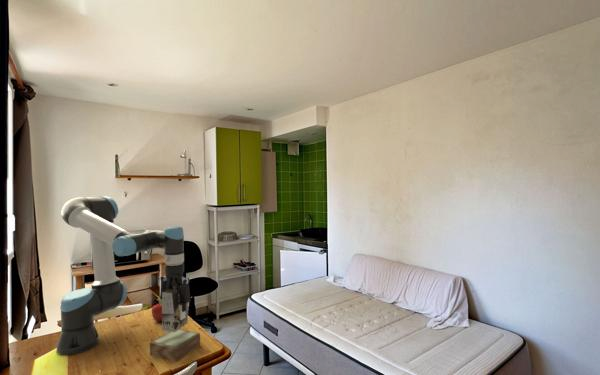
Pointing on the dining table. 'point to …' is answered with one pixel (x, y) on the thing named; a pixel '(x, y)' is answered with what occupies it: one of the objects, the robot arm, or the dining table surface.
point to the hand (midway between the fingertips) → (175, 317)
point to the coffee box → (172, 311)
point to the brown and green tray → (175, 344)
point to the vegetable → (157, 311)
